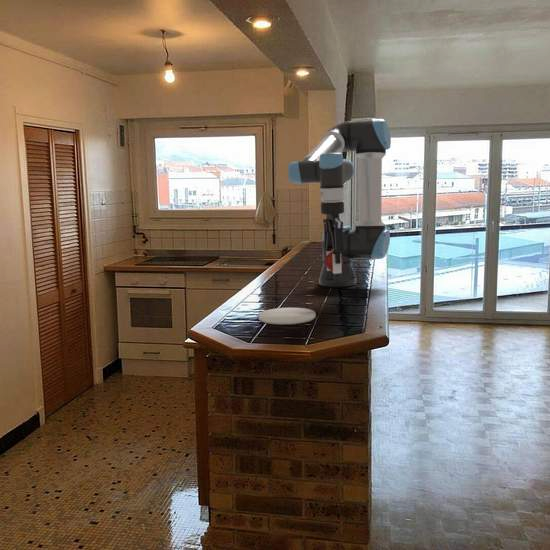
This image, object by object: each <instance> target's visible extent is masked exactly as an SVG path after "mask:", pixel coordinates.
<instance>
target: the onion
mask: <svg viewBox="0 0 550 550" xmlns="http://www.w3.org/2000/svg"><path fill="white" fill-rule="evenodd" d="M332 252H333V249H332ZM332 252H330V253H329V254H328V255H327V257H326V259H325V264H326V266H327V268H328V269H330V270H331V271H332V272H333V256H332V254H331V253H332ZM342 265H343V259H342V256H341V267H342Z"/></svg>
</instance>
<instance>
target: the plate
mask: <svg viewBox="0 0 550 550" xmlns="http://www.w3.org/2000/svg"><path fill="white" fill-rule="evenodd" d="M316 316H317V315H316V311H315V310H312V309H309V308H305V307H278V308H271V309H267V310H263V311H260V312H259V313H258V321H259V322H262V323H264V324H268V325H296V324H302V323H308V322H311V321H313V320H315V319H316V318H317V317H316Z"/></svg>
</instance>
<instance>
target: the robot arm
mask: <svg viewBox="0 0 550 550" xmlns="http://www.w3.org/2000/svg"><path fill="white" fill-rule="evenodd" d="M391 141H392V139H391V132H390V128H389V125H388V123H387V121H386V120H385V119H384V118H369V119H358V120H346V121H343V122H341V123H338V124H336V125H334V126H332V127H331V128H330V129H328V130H327V131H326V132H325V133H324V134H323V135H322V136H321V139H320V142H318V144H317V145H315V147H314V148H313V149H312V150H311V151H310V152H309V153H308V154H307V155H306V156H305V157H304V158H303V159H302V160H300V161H299V160H297V161H291V162H290V163H289V165H288V169H287V172H288V173H287V174H288V175H287V176H288V178H289V181H290V182H291V183H293V184H301V185H302V184H315V183H318V184H319V186H320V191H319V192H318V193H319V196H320V201H321V203H320V213H321V214H322V215H326V218H324V219H323V220H322V221H323V232H322V235H321V236H322V240H321V243H322V244H321V245H322V246H321V248H322V268H321V271H320V276H319V278H318V284H319V285H320V286H321V287H329V288H330V287H332V288H343V287H350V286H354V285H357V276H356V273H355V269H354V267H353V263H352V262H353V261H352V260H381V259H384V258H385V257H386V256H387V254H388V251H389V247H390V239H391V235H390V234H391V233H390V230H389V229H387V228H386V224H385V223H384V222H383V221H382V220H383V219H382V187H383V185H382V181H383V180H382V178H383V177H382V175H383V172H382V171H383V159H384V157H385V156H386V155H387V153H386V152H387V150H389V149H391V143H392V142H391ZM343 152H355V156H356V158H358V159H359V160H358V161H359V191H358V192H359V200H358V201H359V208H358V209H359V213H358V215H359V216H358V217H359V219H358V222H357V223H356V224H355V227H354V229H353V228H352V226H351V225H345V226H344V222H343V221H341V219H340V214H344V212H345V203H344V200H345V189H344V188H345V187H344V183H346V182H347V181H350V180H351V179H352V178H354V176H355V173H356V167H355V165H354V163H353V162H352V161H351V160H349V159H346V158H344V155H343ZM332 249H333V252H332ZM330 252H332V253H331V254H332V256H333V272H332V271H331V270H330V269H328V268H327V266H326V264H325V259H326V257H327V255H328V254H329V253H330ZM341 256H342V259H343V265H342V267H341Z"/></svg>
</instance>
